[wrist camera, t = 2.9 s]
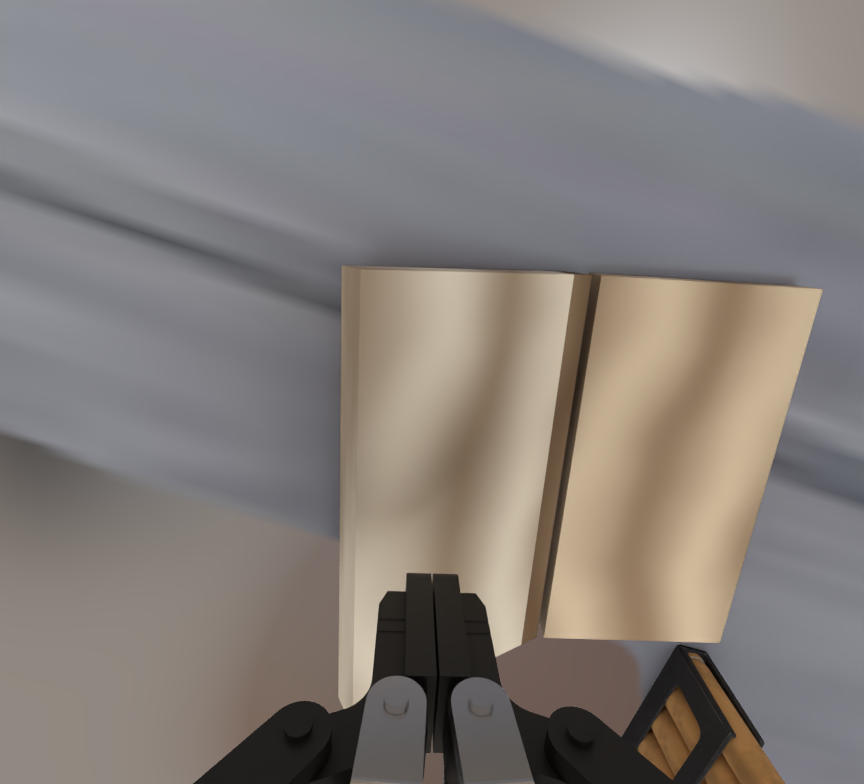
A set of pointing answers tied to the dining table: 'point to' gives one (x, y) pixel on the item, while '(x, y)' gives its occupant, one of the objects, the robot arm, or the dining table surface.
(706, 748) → the ammunition clip
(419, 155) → the dining table surface
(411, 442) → the birch plank
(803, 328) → the oak board
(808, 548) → the dining table surface
